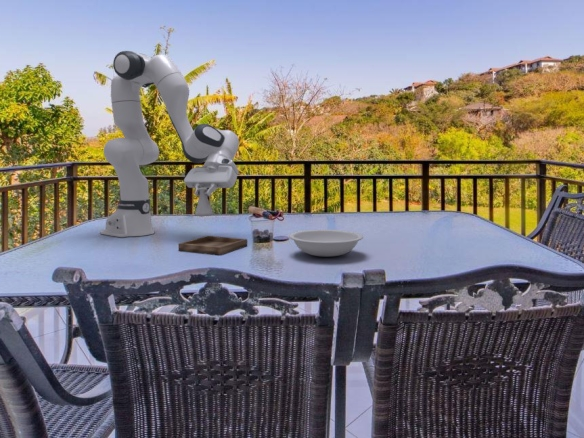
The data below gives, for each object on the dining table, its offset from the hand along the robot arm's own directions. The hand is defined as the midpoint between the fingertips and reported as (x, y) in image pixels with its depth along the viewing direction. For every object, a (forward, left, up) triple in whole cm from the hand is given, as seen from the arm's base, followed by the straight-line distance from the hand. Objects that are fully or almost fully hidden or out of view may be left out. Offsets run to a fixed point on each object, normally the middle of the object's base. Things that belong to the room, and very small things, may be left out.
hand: (202, 194), depth 174 cm
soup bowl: (+47, +2, -18) cm, 51 cm away
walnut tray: (+7, -4, -18) cm, 20 cm away
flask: (0, +1, -8) cm, 8 cm away
